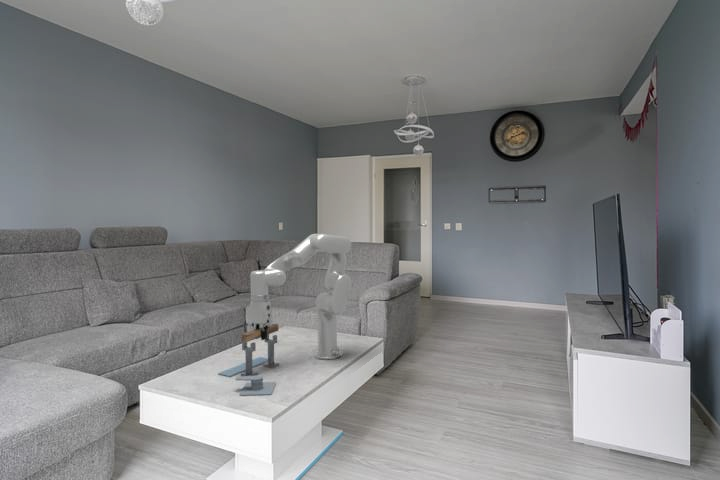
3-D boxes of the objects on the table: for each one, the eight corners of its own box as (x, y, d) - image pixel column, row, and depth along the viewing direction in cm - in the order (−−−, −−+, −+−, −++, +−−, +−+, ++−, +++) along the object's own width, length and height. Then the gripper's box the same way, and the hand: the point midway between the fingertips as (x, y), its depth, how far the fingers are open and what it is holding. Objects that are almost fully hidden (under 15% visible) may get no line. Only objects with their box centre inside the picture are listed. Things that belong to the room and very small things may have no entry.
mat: (271, 360, 202) (271, 359, 202) (229, 377, 179) (229, 376, 179) (260, 358, 205) (260, 356, 205) (218, 374, 183) (218, 373, 183)
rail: (278, 330, 195) (278, 324, 195) (247, 341, 178) (246, 335, 178) (273, 330, 197) (273, 323, 197) (242, 341, 179) (241, 334, 179)
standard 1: (258, 374, 182) (257, 341, 182) (250, 378, 178) (249, 344, 177) (248, 372, 185) (247, 340, 185) (239, 375, 181) (239, 342, 180)
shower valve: (239, 371, 172) (276, 371, 172) (239, 384, 172) (276, 384, 172) (231, 383, 159) (271, 382, 160) (232, 397, 159) (271, 396, 160)
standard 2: (279, 365, 194) (279, 334, 194) (272, 368, 190) (272, 337, 189) (269, 363, 197) (269, 332, 197) (262, 366, 193) (262, 335, 192)
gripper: (279, 298, 186) (280, 338, 187) (252, 295, 194) (253, 334, 195) (267, 301, 179) (269, 343, 180) (240, 298, 187) (241, 338, 188)
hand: (261, 338), depth 187 cm, fingers closed on rail, 3 cm apart
